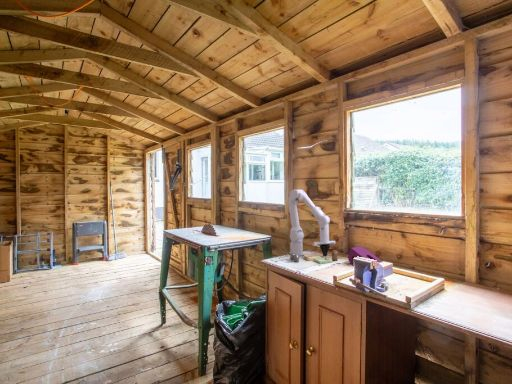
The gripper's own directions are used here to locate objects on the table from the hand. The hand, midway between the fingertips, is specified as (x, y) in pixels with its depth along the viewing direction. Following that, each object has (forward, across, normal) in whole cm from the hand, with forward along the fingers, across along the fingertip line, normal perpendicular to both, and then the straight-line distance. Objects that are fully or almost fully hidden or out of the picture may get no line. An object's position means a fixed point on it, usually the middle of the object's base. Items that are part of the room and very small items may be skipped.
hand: (324, 256), depth 187 cm
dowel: (+1, +2, -8) cm, 9 cm away
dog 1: (+1, -21, +2) cm, 21 cm away
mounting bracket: (+2, +13, -25) cm, 28 cm away
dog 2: (+1, -21, -2) cm, 21 cm away
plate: (+2, -9, 0) cm, 9 cm away
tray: (+1, -6, -8) cm, 10 cm away
